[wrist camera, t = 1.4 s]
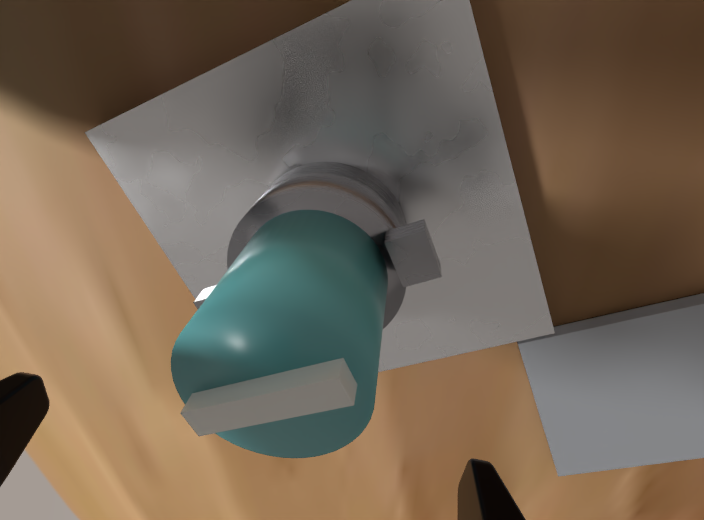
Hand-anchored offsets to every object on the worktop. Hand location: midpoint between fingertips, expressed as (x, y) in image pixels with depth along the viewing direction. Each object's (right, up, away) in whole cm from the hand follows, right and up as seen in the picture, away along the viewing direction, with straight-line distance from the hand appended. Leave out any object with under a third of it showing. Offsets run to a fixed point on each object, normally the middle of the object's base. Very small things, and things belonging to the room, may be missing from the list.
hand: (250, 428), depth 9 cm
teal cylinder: (+1, +3, +5) cm, 6 cm away
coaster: (+15, -2, +11) cm, 19 cm away
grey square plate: (+1, +5, +9) cm, 10 cm away
